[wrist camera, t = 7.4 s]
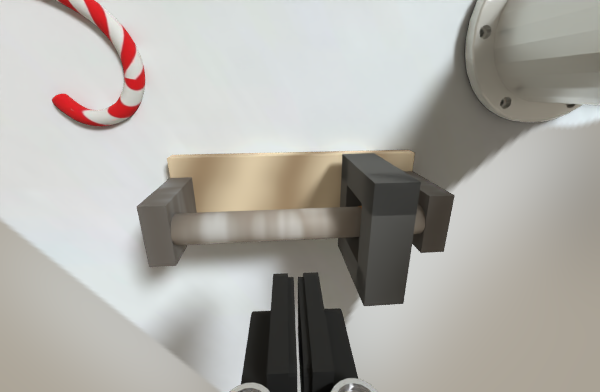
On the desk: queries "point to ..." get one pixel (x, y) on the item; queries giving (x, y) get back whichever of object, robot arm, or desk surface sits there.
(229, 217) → the rail fixture
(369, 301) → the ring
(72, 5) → the candy cane
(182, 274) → the desk surface
